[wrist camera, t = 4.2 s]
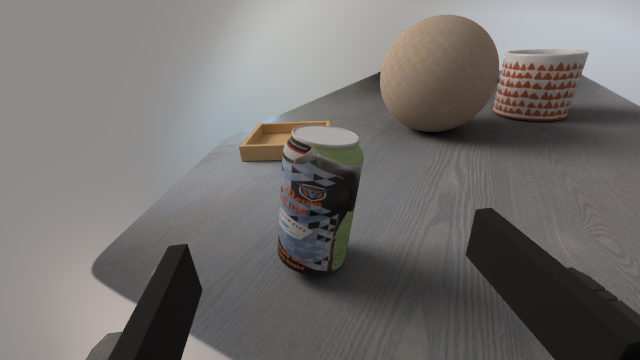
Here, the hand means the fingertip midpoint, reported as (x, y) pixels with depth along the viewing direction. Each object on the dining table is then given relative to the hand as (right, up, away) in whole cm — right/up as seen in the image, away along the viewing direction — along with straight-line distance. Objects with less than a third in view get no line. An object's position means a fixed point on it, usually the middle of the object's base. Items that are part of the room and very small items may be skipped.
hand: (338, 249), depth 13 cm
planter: (+45, +18, +51) cm, 70 cm away
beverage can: (-1, -4, +13) cm, 14 cm away
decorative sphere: (+21, +13, +44) cm, 51 cm away
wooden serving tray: (-6, +10, +40) cm, 42 cm away
